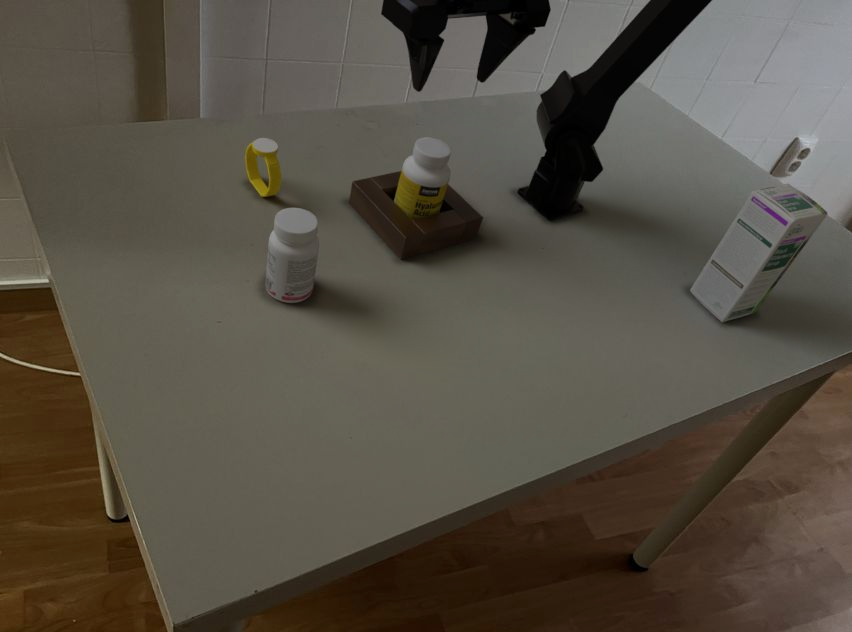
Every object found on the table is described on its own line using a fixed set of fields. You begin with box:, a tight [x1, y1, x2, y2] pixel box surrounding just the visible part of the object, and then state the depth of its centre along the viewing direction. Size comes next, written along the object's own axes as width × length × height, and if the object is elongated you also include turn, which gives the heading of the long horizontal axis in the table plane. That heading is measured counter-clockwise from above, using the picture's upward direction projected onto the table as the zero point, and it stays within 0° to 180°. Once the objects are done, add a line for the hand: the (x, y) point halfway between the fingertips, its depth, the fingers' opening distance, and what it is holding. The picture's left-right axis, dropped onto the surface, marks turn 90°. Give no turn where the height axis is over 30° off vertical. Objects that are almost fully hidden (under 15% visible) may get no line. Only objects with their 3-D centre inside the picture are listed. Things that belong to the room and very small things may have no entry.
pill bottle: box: [265, 207, 320, 304], centre depth 68 cm, size 5×5×8 cm
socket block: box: [348, 170, 484, 261], centre depth 82 cm, size 11×11×3 cm
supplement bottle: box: [394, 136, 452, 220], centre depth 80 cm, size 5×5×10 cm
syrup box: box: [689, 183, 828, 323], centre depth 78 cm, size 6×6×14 cm
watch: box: [244, 137, 282, 198], centre depth 80 cm, size 6×3×6 cm, turn 35°
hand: (449, 85), depth 80 cm, fingers open, 9 cm apart
